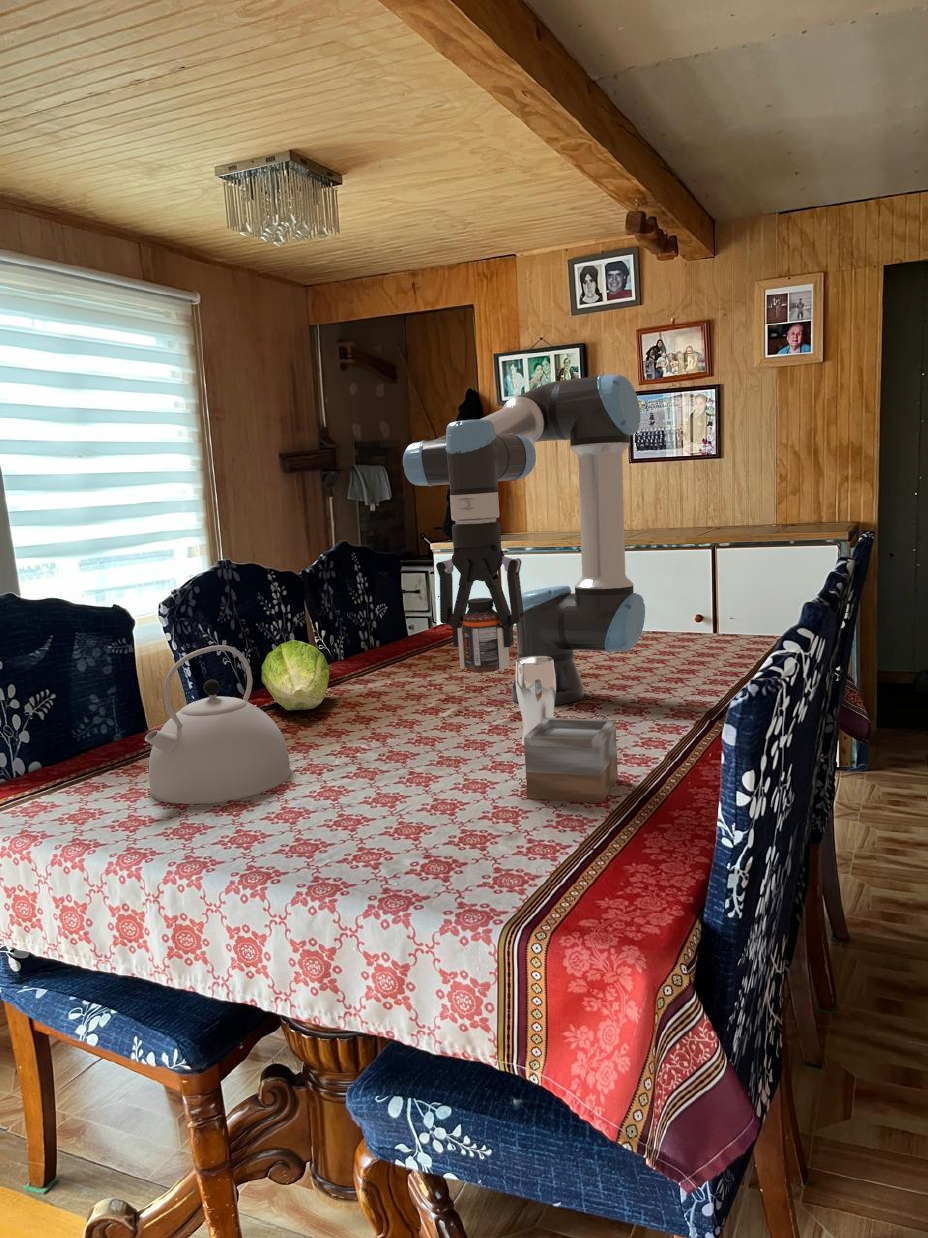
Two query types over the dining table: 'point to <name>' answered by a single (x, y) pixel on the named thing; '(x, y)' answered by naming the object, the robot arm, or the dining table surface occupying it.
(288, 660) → the lettuce
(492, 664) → the supplement bottle
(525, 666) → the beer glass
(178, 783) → the kettle
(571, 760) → the wooden box
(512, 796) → the dining table surface
